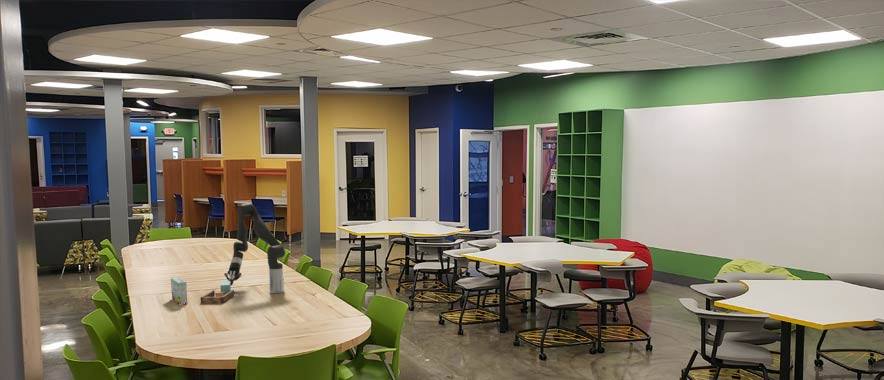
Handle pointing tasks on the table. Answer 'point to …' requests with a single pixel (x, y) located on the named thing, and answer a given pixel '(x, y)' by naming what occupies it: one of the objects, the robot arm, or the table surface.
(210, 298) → the brown u-shaped block
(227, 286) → the block
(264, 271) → the table surface
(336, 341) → the table surface
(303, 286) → the table surface
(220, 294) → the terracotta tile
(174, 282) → the snack box
